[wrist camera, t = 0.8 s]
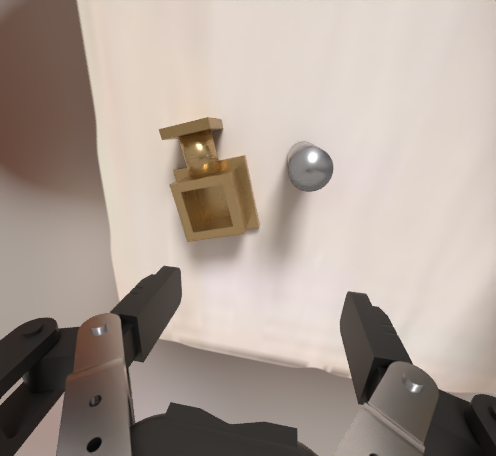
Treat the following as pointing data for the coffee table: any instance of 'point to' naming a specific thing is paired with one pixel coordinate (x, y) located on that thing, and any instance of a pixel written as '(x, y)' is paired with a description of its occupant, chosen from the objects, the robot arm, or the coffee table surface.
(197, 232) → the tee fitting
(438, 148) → the coffee table surface
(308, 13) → the coffee table surface
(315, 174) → the silver round-ended rod
